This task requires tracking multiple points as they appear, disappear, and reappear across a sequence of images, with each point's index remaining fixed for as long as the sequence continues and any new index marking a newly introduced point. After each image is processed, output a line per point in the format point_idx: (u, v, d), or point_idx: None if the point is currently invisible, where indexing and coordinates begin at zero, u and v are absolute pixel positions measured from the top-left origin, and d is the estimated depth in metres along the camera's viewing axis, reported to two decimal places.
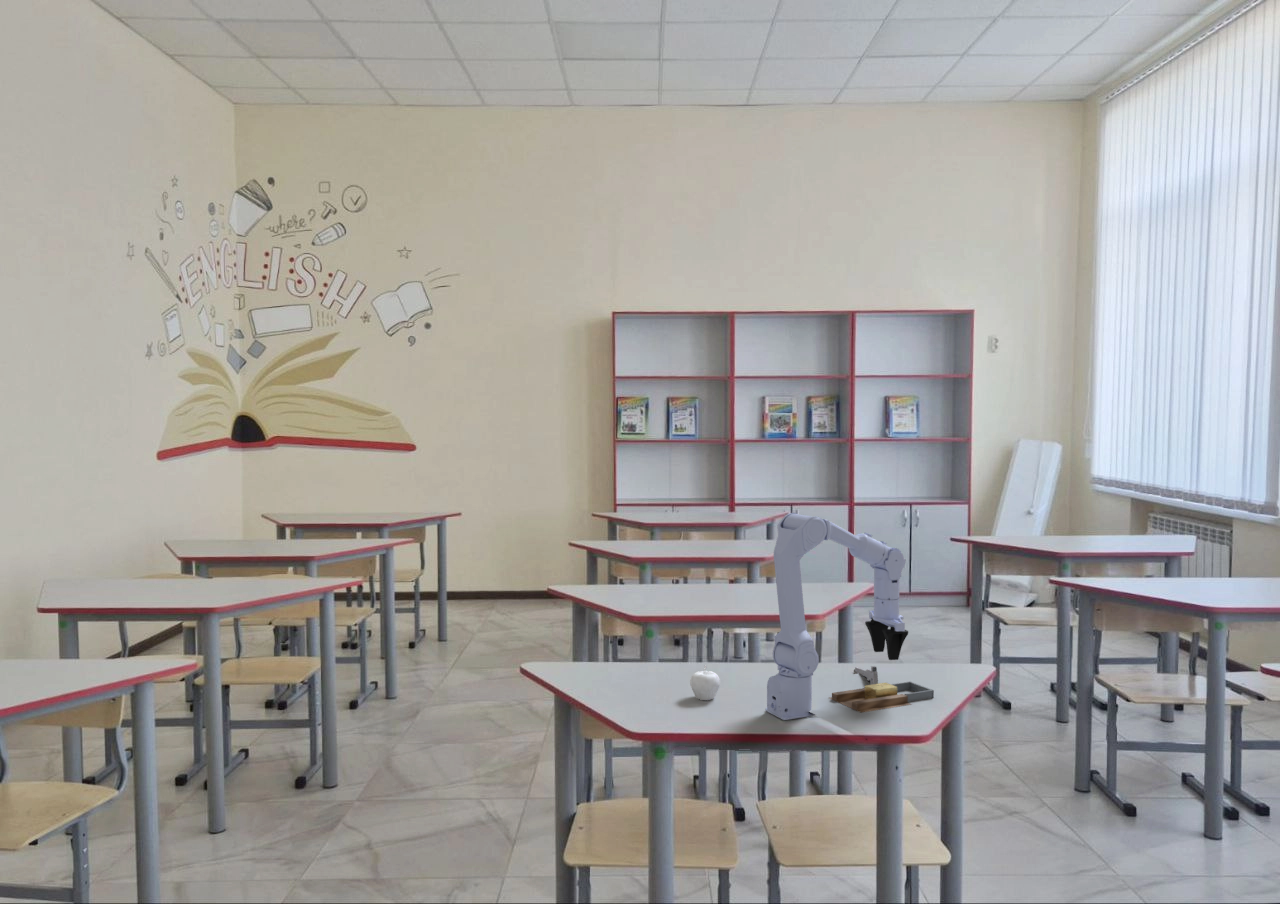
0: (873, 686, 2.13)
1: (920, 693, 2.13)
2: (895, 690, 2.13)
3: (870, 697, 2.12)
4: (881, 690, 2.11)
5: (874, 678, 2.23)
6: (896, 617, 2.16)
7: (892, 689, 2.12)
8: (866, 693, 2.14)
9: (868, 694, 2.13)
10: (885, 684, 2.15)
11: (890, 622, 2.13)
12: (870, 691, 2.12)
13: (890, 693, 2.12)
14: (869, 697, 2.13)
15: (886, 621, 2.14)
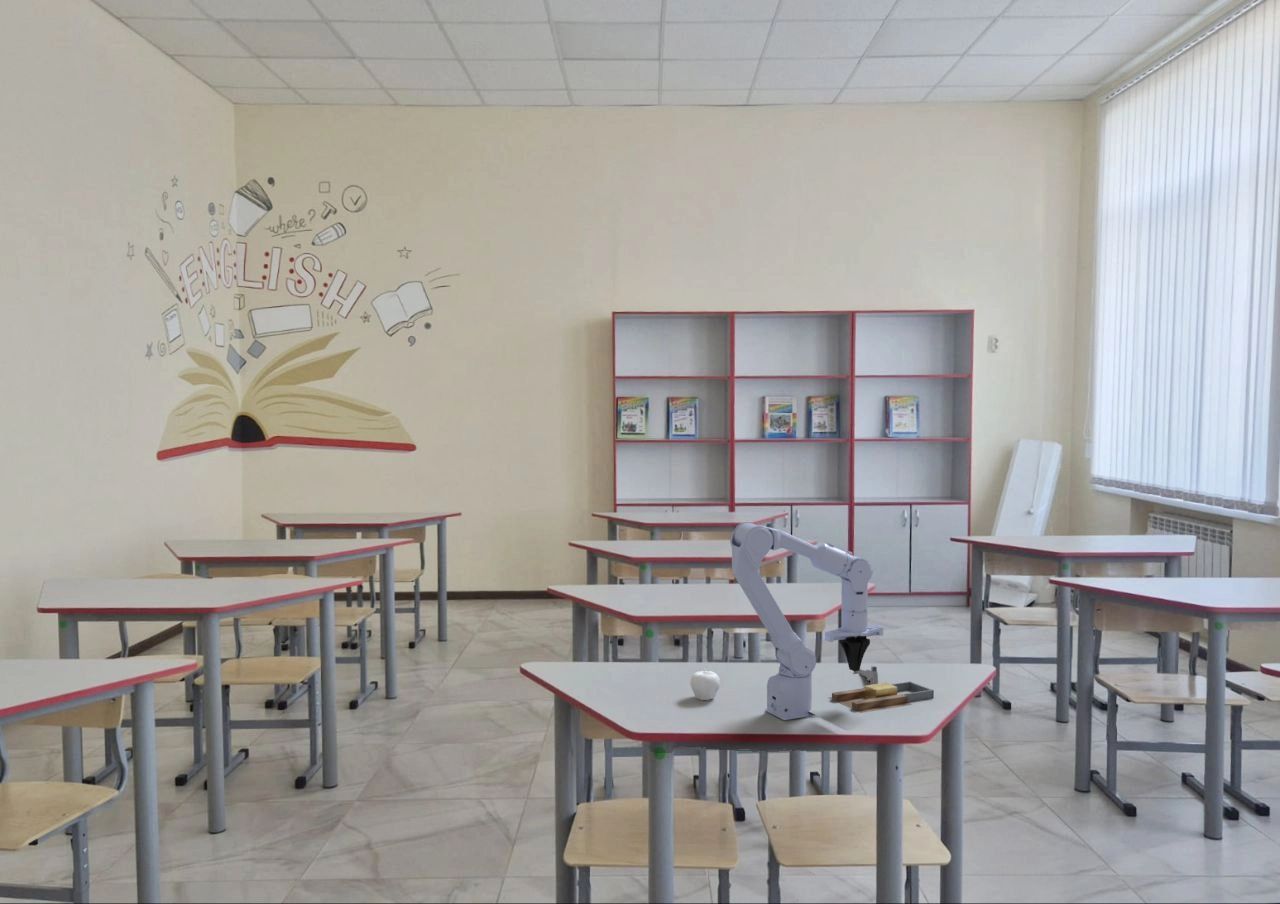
0: (873, 686, 2.13)
1: (920, 693, 2.13)
2: (895, 690, 2.13)
3: (870, 697, 2.12)
4: (881, 690, 2.11)
5: (874, 678, 2.23)
6: (848, 630, 2.08)
7: (892, 689, 2.12)
8: (866, 693, 2.14)
9: (868, 694, 2.13)
10: (885, 684, 2.15)
11: None
12: (870, 691, 2.12)
13: (890, 693, 2.12)
14: (869, 697, 2.13)
15: None
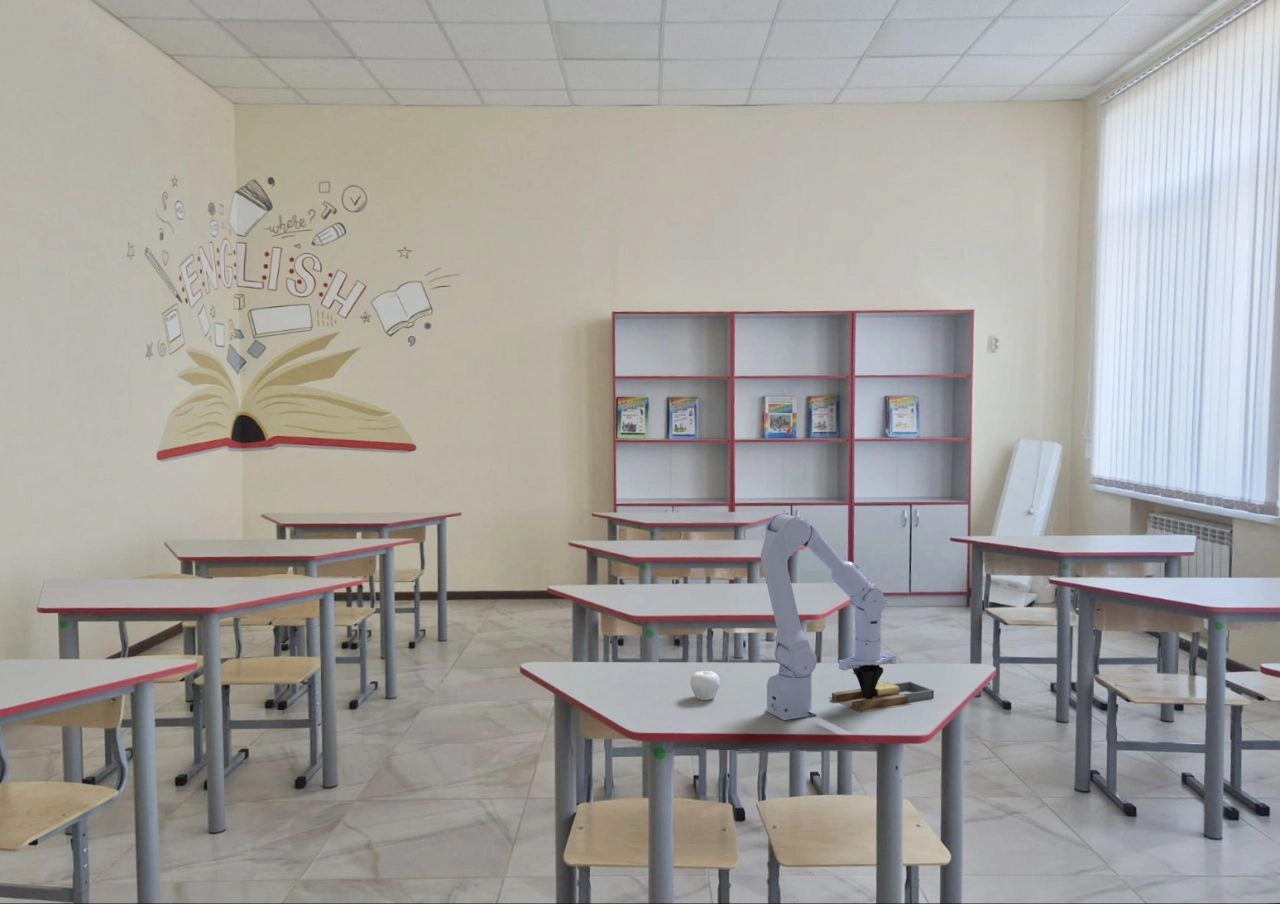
0: None
1: (920, 693, 2.13)
2: (897, 690, 2.13)
3: None
4: (883, 690, 2.11)
5: None
6: (862, 659, 2.10)
7: (894, 688, 2.13)
8: None
9: None
10: (887, 684, 2.15)
11: None
12: None
13: (892, 693, 2.12)
14: None
15: None
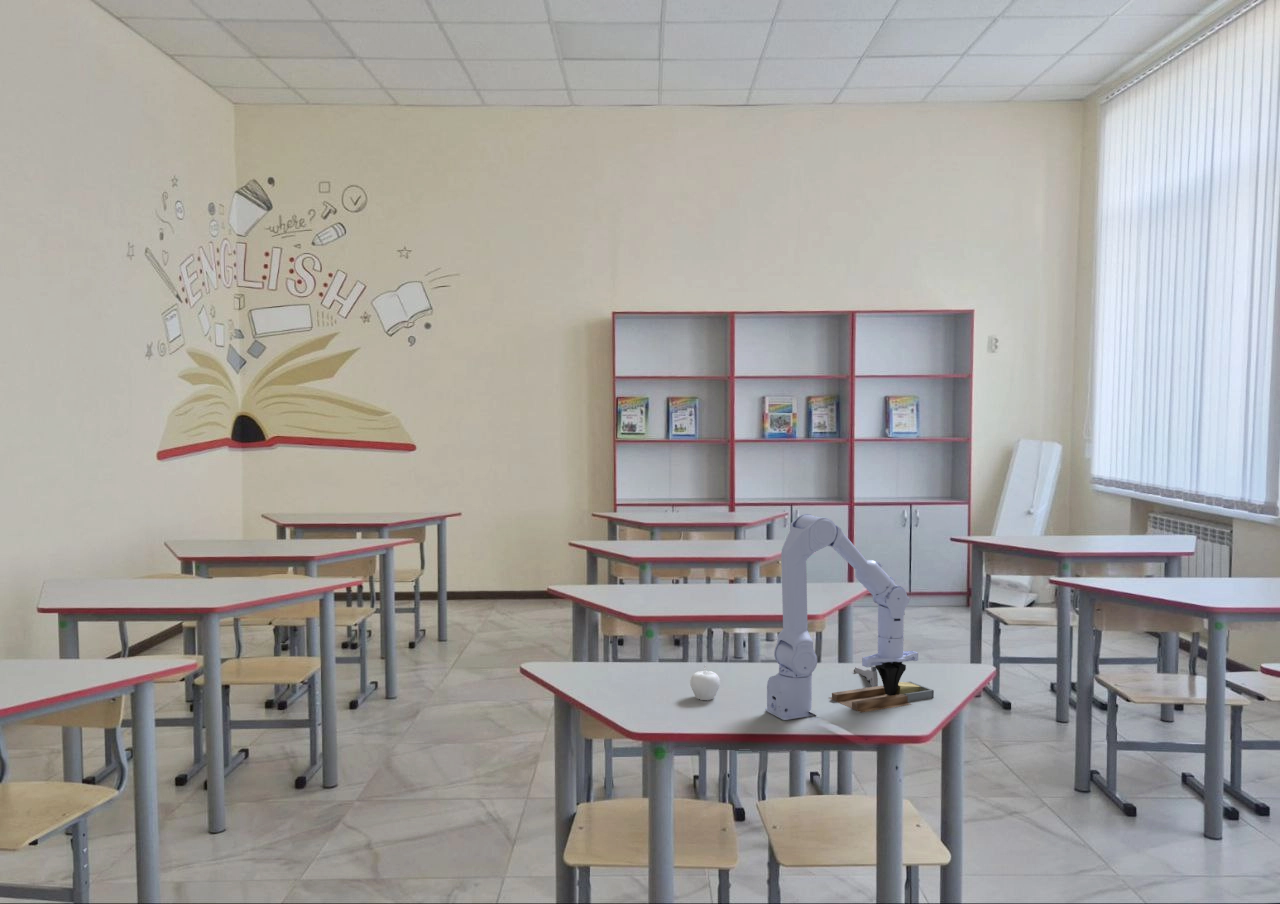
0: None
1: (920, 693, 2.13)
2: (918, 689, 2.16)
3: None
4: (906, 687, 2.14)
5: (874, 678, 2.23)
6: (885, 656, 2.12)
7: (916, 688, 2.15)
8: None
9: None
10: (908, 683, 2.18)
11: None
12: None
13: None
14: None
15: None
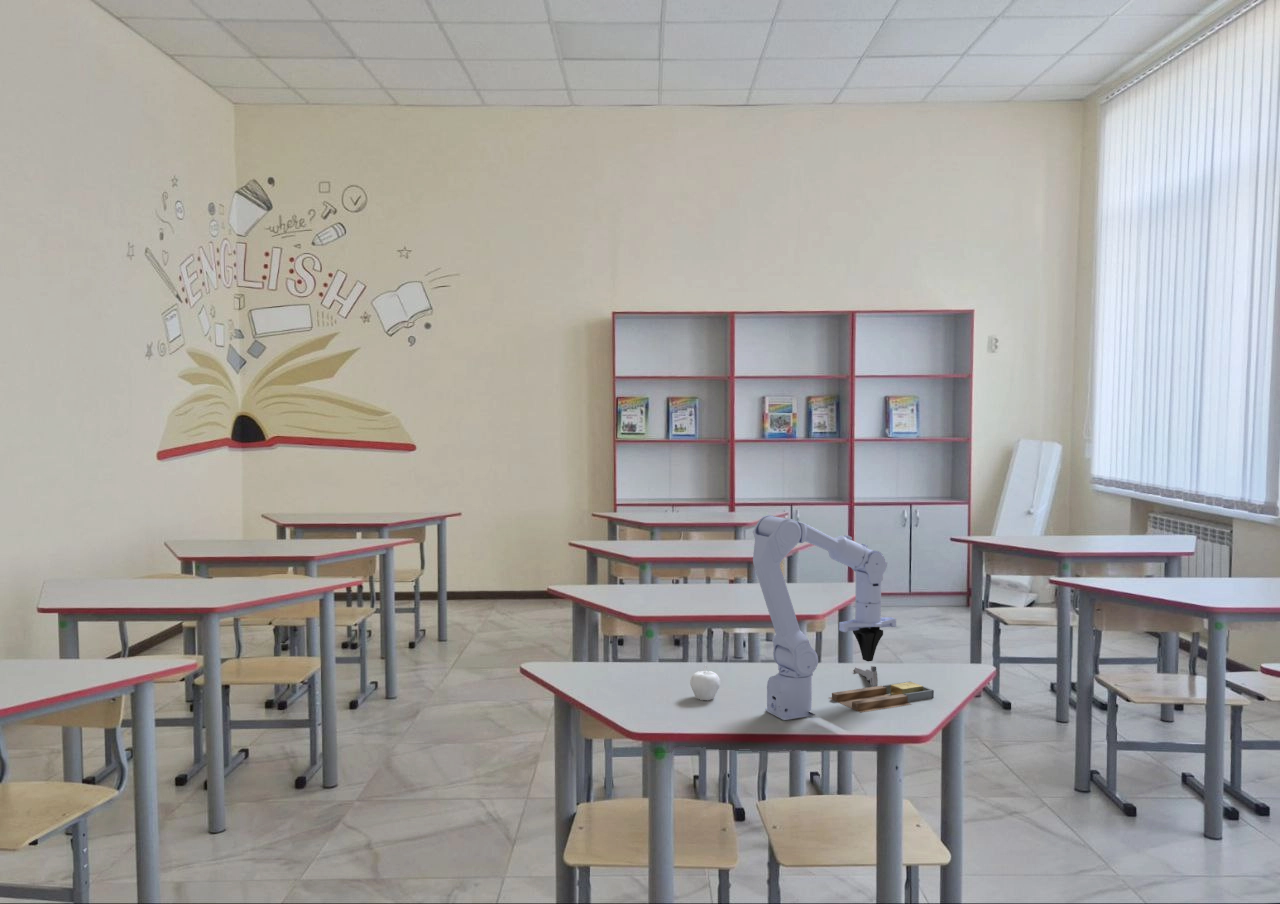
0: (899, 685, 2.17)
1: (920, 693, 2.13)
2: (921, 689, 2.16)
3: None
4: (908, 689, 2.15)
5: (874, 678, 2.23)
6: (862, 621, 2.12)
7: (918, 688, 2.16)
8: (892, 692, 2.17)
9: (894, 693, 2.16)
10: (911, 683, 2.18)
11: None
12: (896, 690, 2.16)
13: None
14: None
15: None
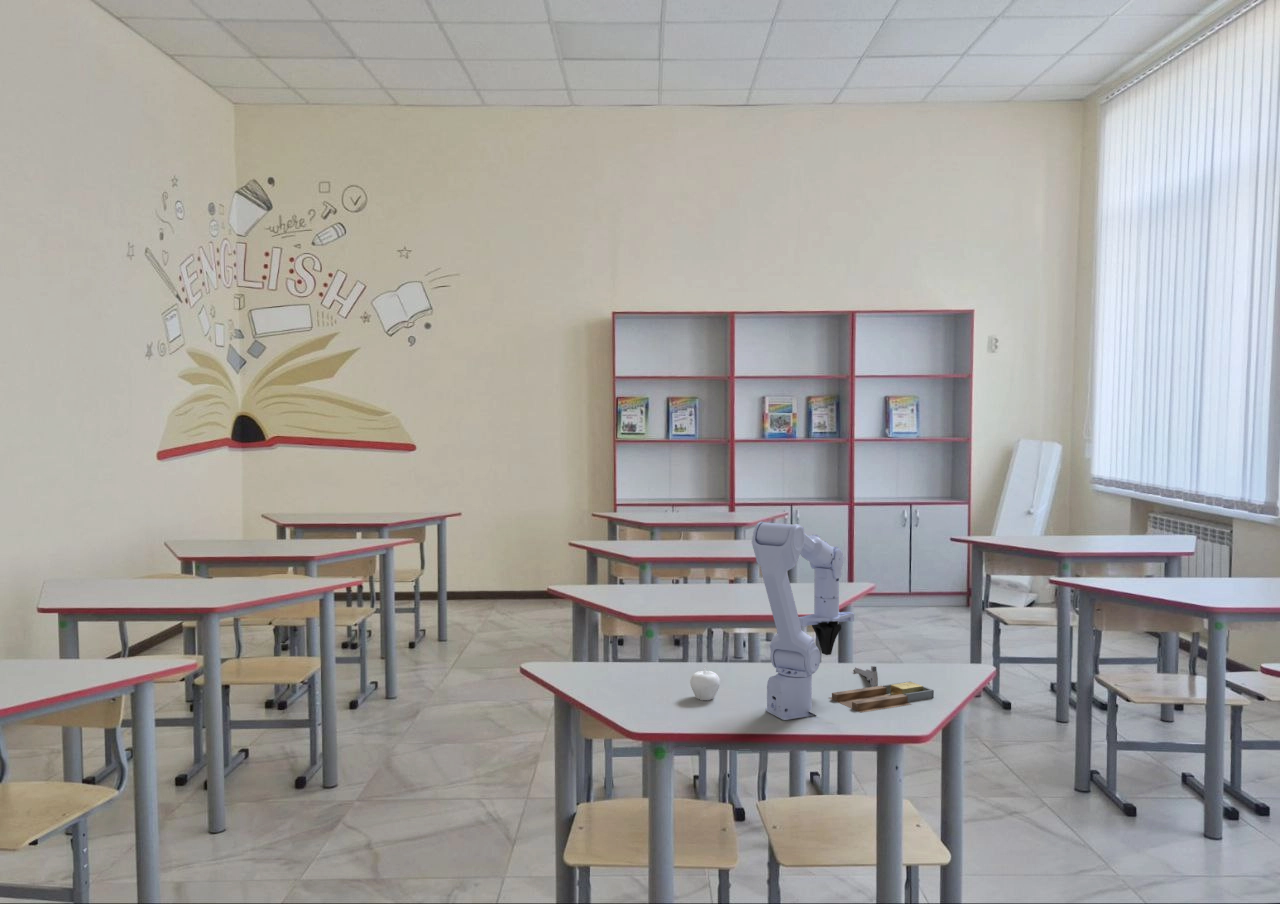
0: (899, 685, 2.17)
1: (920, 693, 2.13)
2: (921, 689, 2.16)
3: None
4: (908, 689, 2.15)
5: (874, 678, 2.23)
6: (820, 616, 2.18)
7: (918, 688, 2.16)
8: (892, 692, 2.17)
9: (894, 693, 2.16)
10: (911, 683, 2.18)
11: None
12: (896, 690, 2.16)
13: None
14: None
15: None
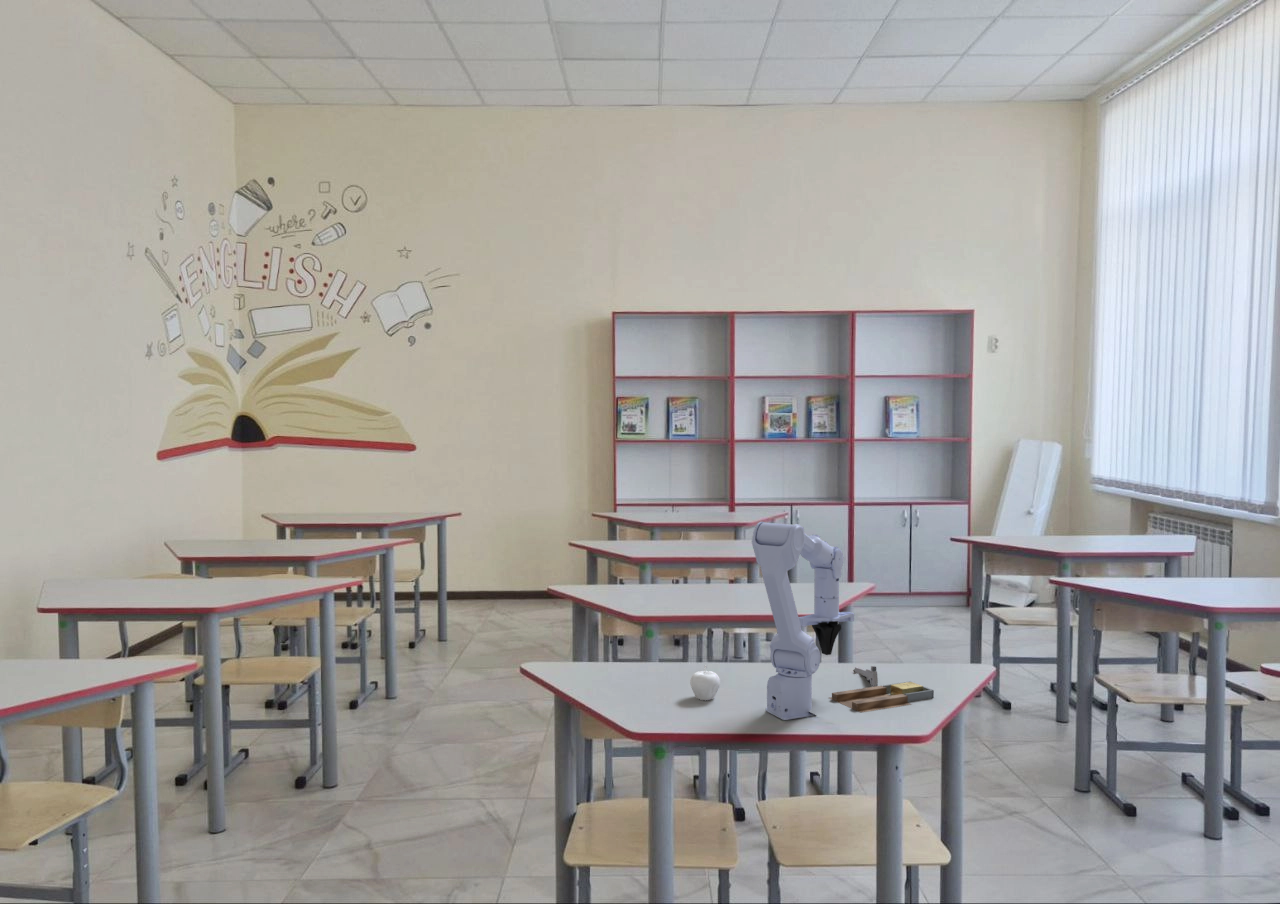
0: (899, 685, 2.17)
1: (920, 693, 2.13)
2: (921, 689, 2.16)
3: None
4: (908, 689, 2.15)
5: (874, 678, 2.23)
6: (820, 616, 2.18)
7: (918, 688, 2.16)
8: (892, 692, 2.17)
9: (894, 693, 2.16)
10: (911, 683, 2.18)
11: None
12: (896, 690, 2.16)
13: None
14: None
15: None
